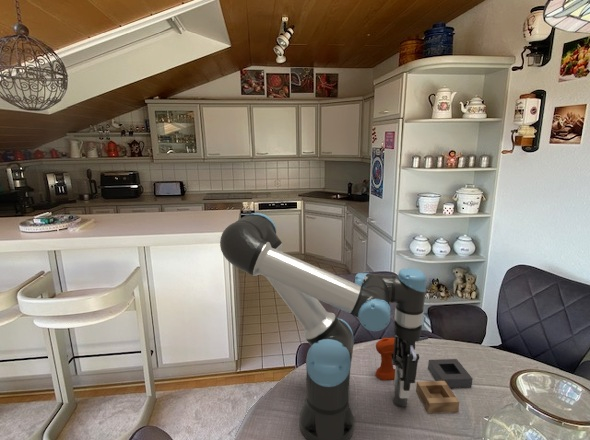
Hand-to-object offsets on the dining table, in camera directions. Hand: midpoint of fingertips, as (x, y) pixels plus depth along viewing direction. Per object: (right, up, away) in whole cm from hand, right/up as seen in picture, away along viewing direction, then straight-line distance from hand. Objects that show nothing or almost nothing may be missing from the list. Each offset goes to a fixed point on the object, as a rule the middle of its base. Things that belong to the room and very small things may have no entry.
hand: (401, 391), depth 103 cm
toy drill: (+4, -1, +13) cm, 14 cm away
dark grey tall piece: (0, -4, +1) cm, 4 cm away
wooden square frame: (+11, -4, +1) cm, 12 cm away
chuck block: (+20, -1, +12) cm, 23 cm away
